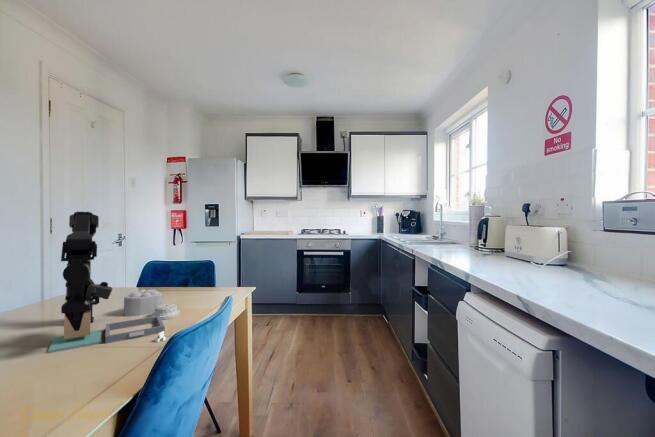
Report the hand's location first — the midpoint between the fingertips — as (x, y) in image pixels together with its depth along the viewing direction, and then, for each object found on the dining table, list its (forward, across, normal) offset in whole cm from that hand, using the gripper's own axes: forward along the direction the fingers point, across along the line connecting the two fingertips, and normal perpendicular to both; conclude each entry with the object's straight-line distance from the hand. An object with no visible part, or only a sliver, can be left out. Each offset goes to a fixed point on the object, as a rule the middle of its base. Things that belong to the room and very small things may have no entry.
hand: (77, 328), depth 92 cm
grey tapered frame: (+4, 0, -15) cm, 16 cm away
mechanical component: (+4, +12, -26) cm, 29 cm away
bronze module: (+2, 0, 0) cm, 2 cm away
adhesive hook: (+5, -13, -20) cm, 24 cm away
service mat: (+4, 0, 0) cm, 4 cm away
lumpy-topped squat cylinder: (+4, +24, -19) cm, 31 cm away
